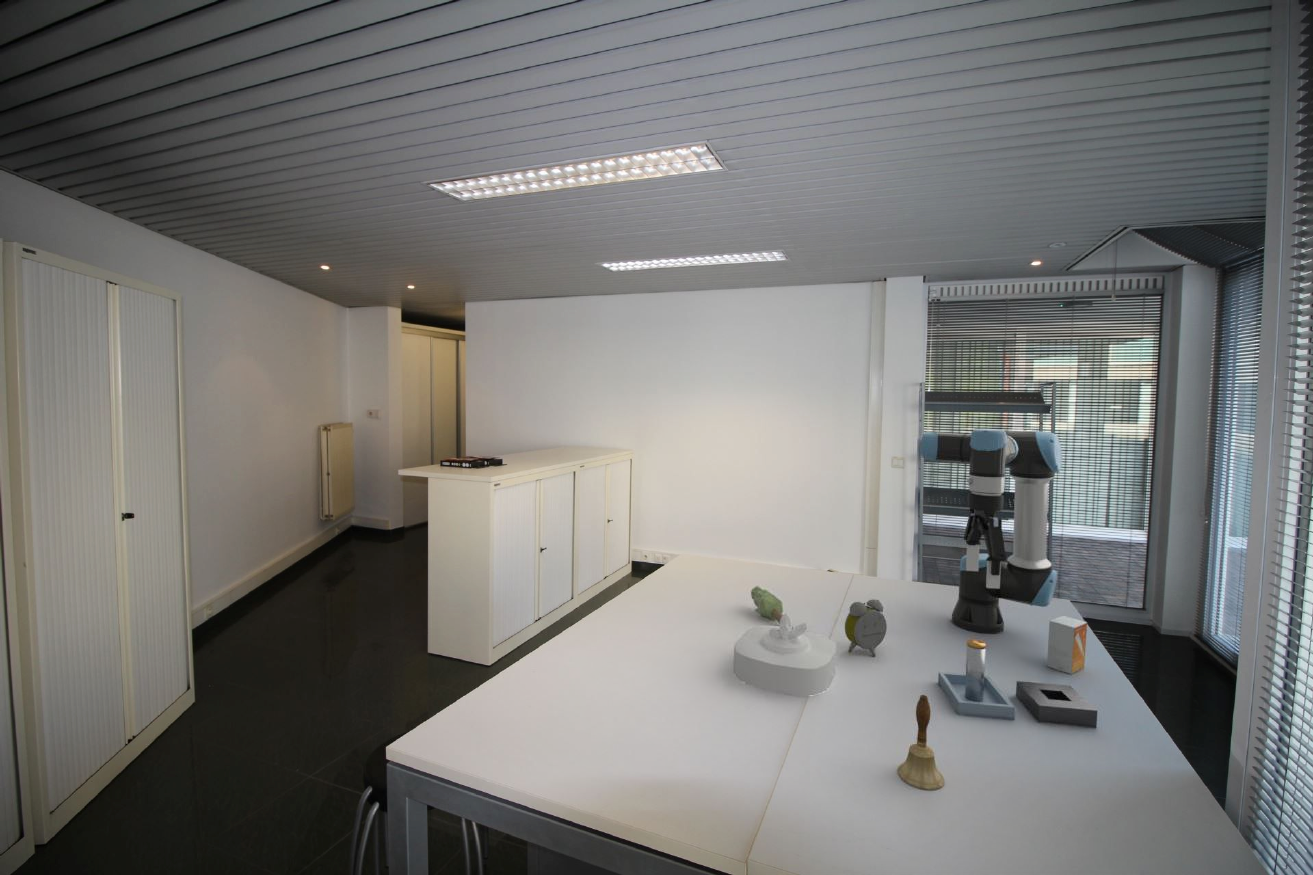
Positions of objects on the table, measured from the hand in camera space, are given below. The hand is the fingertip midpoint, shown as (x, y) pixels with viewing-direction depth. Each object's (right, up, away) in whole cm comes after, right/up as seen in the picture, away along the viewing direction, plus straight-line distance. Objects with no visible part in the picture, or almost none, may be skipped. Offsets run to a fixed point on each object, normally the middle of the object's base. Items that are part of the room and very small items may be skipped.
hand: (982, 578), depth 146 cm
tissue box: (-45, -29, +15) cm, 55 cm away
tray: (-2, -30, 0) cm, 30 cm away
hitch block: (+15, -30, -5) cm, 34 cm away
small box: (+34, -29, +19) cm, 49 cm away
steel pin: (-2, -29, 0) cm, 29 cm away
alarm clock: (-19, -28, +27) cm, 43 cm away
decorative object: (-41, -26, +53) cm, 72 cm away
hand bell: (-28, -32, -30) cm, 52 cm away
